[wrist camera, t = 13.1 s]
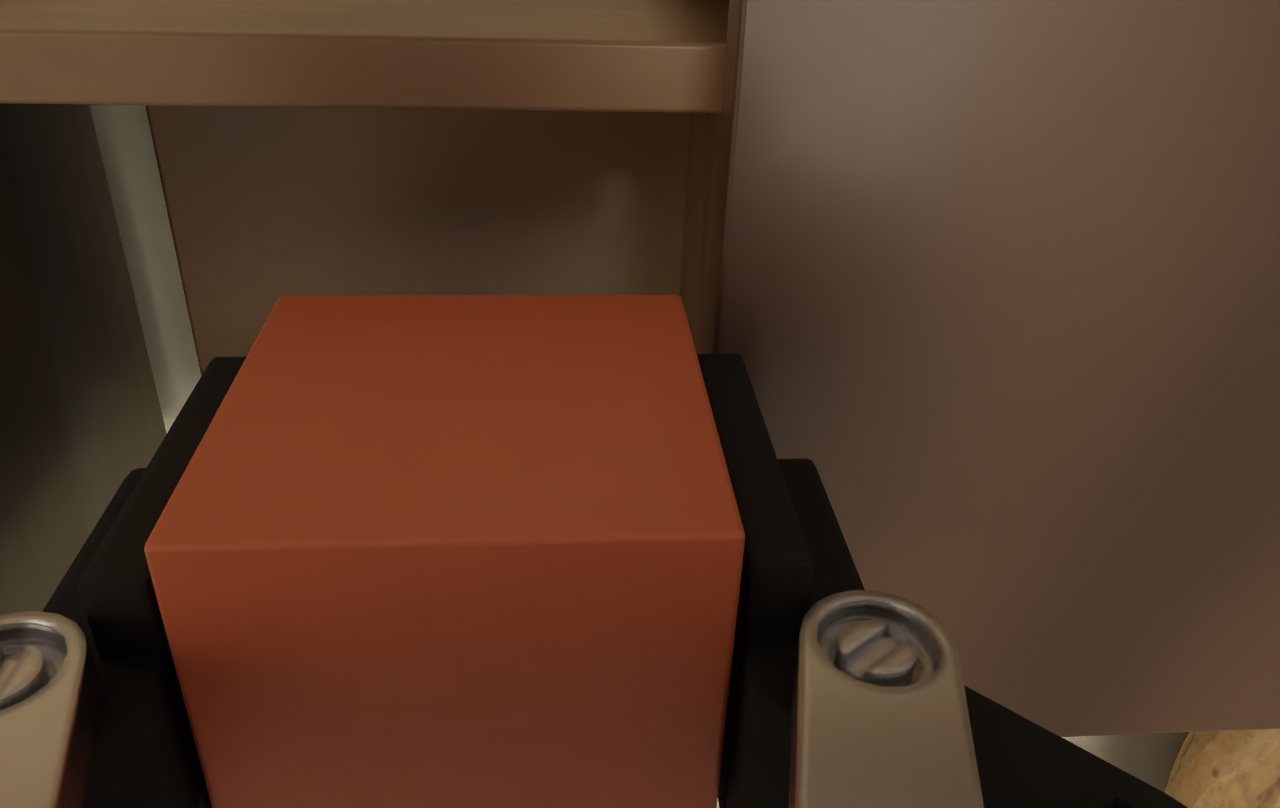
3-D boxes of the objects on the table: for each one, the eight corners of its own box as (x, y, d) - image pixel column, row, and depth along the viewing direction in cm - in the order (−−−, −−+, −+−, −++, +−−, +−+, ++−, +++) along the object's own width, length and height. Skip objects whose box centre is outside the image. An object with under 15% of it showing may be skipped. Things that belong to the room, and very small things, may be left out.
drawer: (-105, 446, 21) (-377, 717, 15) (-327, -117, 16) (-888, -60, 10) (700, 435, 23) (759, 679, 16) (739, -85, 17) (846, -19, 11)
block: (277, 293, 11) (140, 546, 7) (682, 293, 12) (747, 533, 8) (327, 604, 13) (239, 922, 10) (664, 595, 14) (709, 898, 10)
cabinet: (637, 437, 24) (682, 753, 16) (659, -130, 18) (747, -73, 10) (1200, 430, 25) (1501, 721, 17) (1395, -106, 19) (1991, -38, 11)
